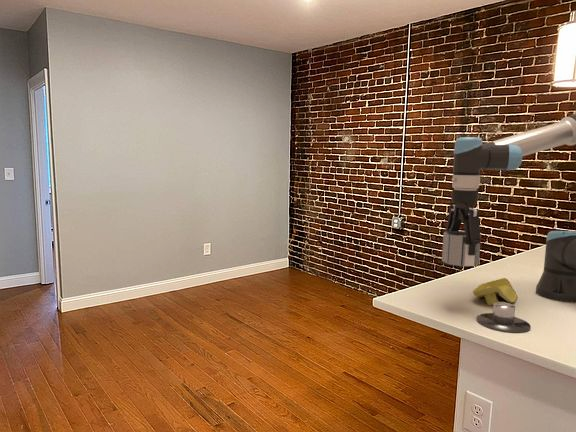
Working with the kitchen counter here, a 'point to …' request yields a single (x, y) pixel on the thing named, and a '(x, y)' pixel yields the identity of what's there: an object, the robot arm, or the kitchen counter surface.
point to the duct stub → (503, 319)
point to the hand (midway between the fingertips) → (460, 261)
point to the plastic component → (496, 291)
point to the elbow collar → (457, 248)
